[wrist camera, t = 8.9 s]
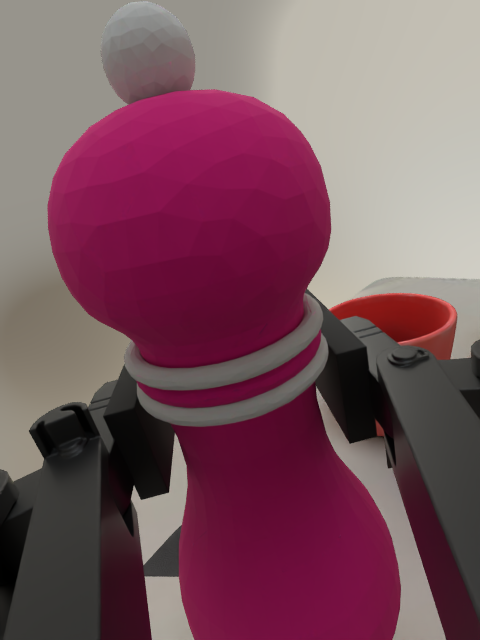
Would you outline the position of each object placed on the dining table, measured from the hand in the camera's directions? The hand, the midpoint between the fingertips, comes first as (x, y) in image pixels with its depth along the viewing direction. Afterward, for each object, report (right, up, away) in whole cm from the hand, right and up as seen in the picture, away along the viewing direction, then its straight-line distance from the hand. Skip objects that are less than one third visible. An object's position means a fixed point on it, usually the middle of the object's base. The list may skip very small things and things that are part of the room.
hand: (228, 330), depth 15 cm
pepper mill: (+3, -12, -1) cm, 12 cm away
